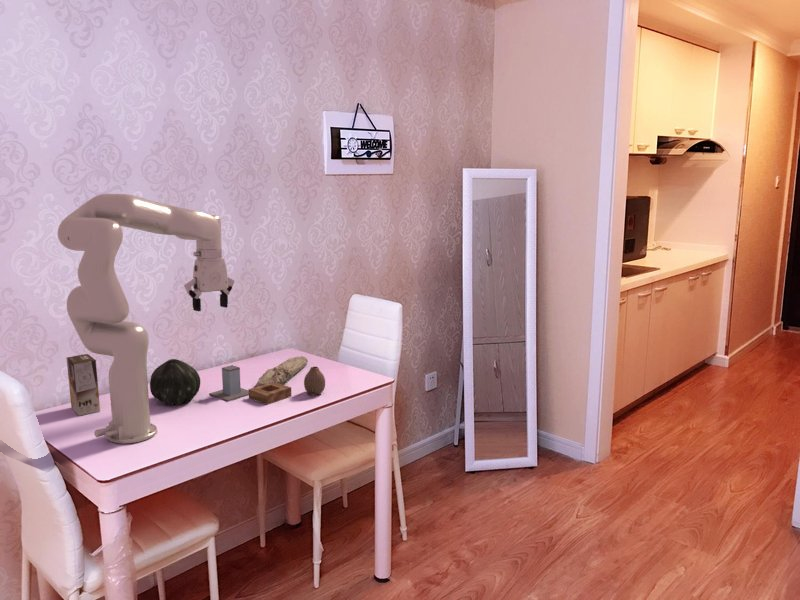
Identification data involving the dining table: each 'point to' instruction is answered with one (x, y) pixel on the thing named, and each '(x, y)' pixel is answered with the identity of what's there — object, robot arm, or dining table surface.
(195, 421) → the dining table surface
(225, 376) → the plug
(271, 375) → the brown bread loaf
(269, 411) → the dining table surface
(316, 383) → the vase
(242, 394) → the coaster
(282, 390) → the socket block
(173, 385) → the squash
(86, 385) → the coffee box
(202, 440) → the dining table surface
